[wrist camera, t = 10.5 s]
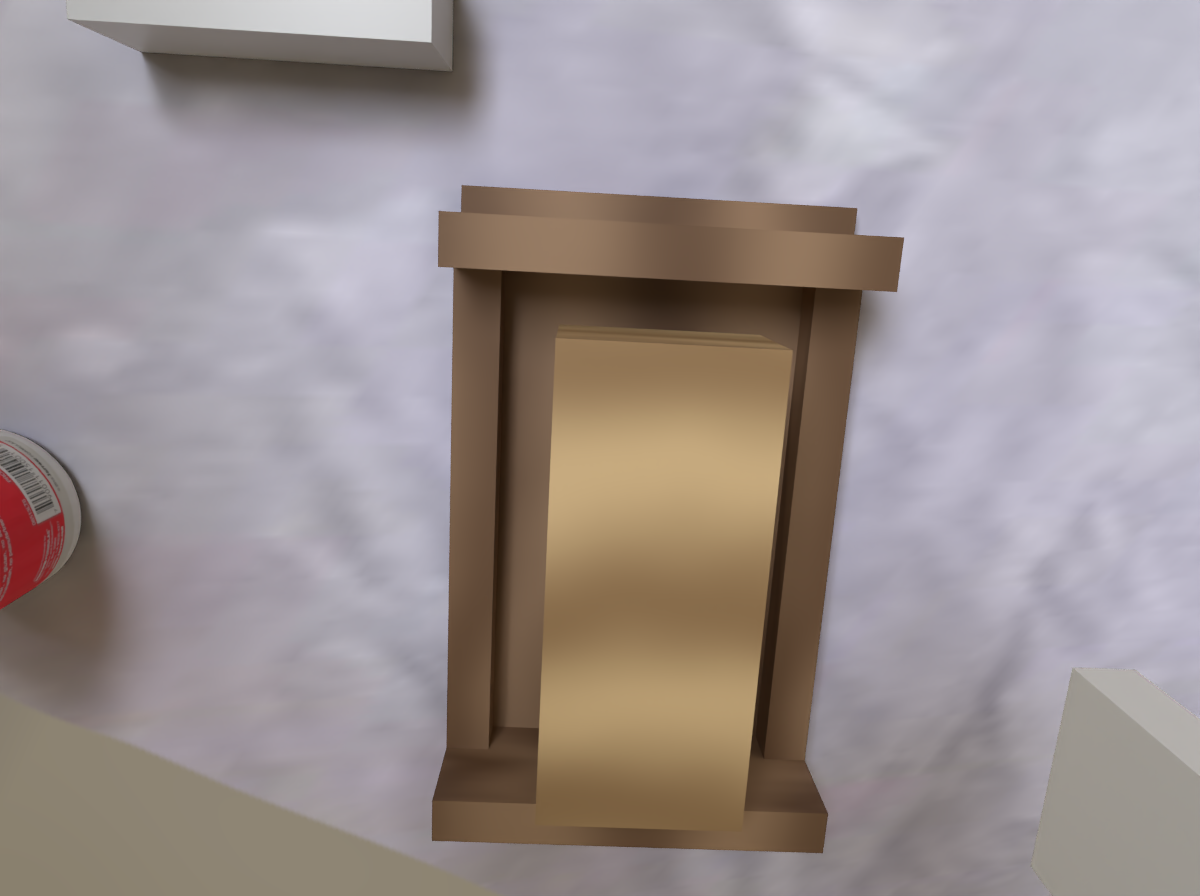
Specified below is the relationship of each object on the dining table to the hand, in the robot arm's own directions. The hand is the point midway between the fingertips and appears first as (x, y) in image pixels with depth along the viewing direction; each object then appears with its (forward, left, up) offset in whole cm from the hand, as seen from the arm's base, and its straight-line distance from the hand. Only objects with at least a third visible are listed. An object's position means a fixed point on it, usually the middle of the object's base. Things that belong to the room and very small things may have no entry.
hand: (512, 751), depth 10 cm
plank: (+3, -3, -17) cm, 17 cm away
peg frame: (+3, -3, -21) cm, 21 cm away
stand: (-9, +13, -21) cm, 26 cm away
